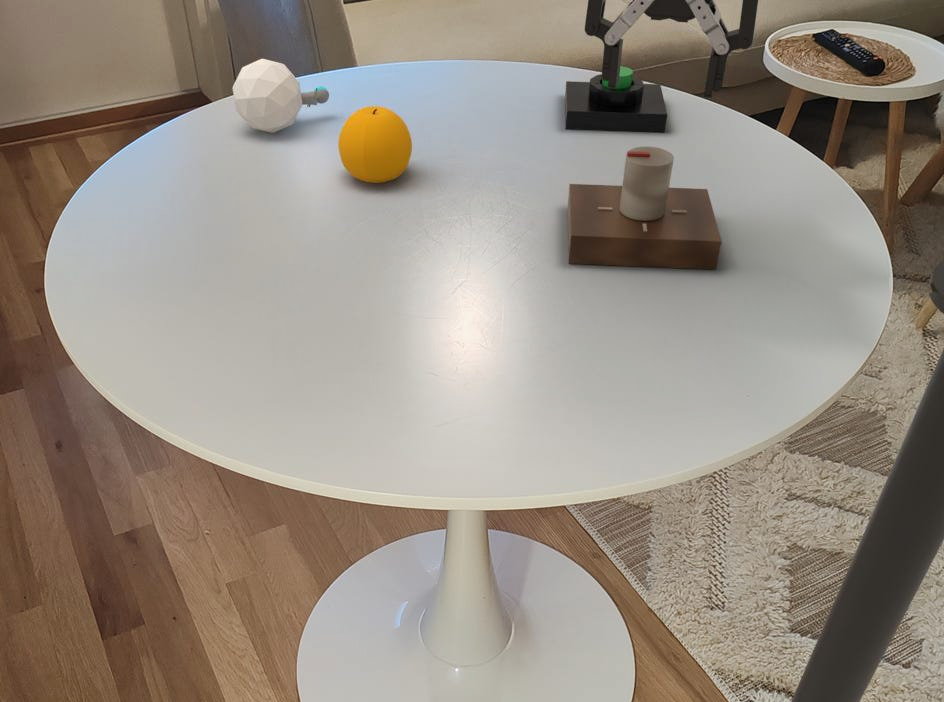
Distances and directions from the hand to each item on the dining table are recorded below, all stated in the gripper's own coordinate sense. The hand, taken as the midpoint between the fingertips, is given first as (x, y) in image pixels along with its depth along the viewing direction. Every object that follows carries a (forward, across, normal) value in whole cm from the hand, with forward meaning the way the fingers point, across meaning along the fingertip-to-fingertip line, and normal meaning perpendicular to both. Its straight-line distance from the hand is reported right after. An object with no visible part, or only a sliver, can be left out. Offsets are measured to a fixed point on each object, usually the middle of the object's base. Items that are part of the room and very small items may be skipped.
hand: (660, 90), depth 83 cm
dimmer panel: (+14, 0, -1) cm, 14 cm away
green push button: (+11, -8, +30) cm, 33 cm away
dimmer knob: (+11, 0, -1) cm, 11 cm away
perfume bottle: (+14, -45, +15) cm, 50 cm away
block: (+14, -8, +30) cm, 34 cm away
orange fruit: (+14, -30, +5) cm, 34 cm away
